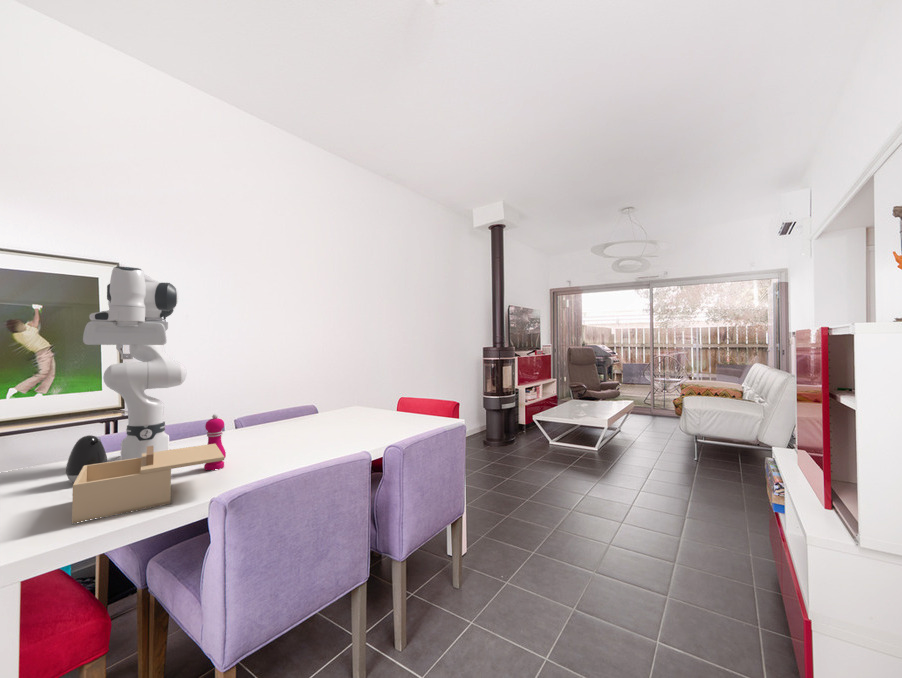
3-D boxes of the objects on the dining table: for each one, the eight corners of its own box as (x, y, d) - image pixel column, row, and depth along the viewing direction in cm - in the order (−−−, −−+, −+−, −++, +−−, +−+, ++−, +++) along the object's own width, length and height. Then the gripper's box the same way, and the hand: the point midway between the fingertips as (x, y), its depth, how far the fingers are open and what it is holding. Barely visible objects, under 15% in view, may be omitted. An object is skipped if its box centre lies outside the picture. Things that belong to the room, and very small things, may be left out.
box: (83, 499, 110) (83, 465, 110) (167, 483, 123) (168, 453, 123) (71, 524, 94) (72, 485, 95) (170, 503, 107) (171, 469, 107)
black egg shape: (77, 488, 118) (78, 440, 119) (57, 484, 122) (59, 437, 122) (115, 477, 128) (116, 433, 128) (96, 474, 131) (97, 431, 132)
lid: (141, 456, 119) (142, 444, 119) (215, 446, 131) (215, 435, 131) (140, 473, 103) (140, 459, 103) (224, 460, 115) (224, 447, 115)
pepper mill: (230, 465, 141) (231, 413, 141) (213, 472, 134) (214, 416, 134) (215, 464, 143) (215, 412, 143) (197, 470, 136) (198, 415, 136)
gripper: (167, 318, 129) (167, 358, 129) (85, 315, 116) (84, 359, 116) (168, 317, 124) (167, 358, 124) (82, 314, 111) (81, 360, 111)
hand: (126, 359), depth 120 cm, fingers closed
